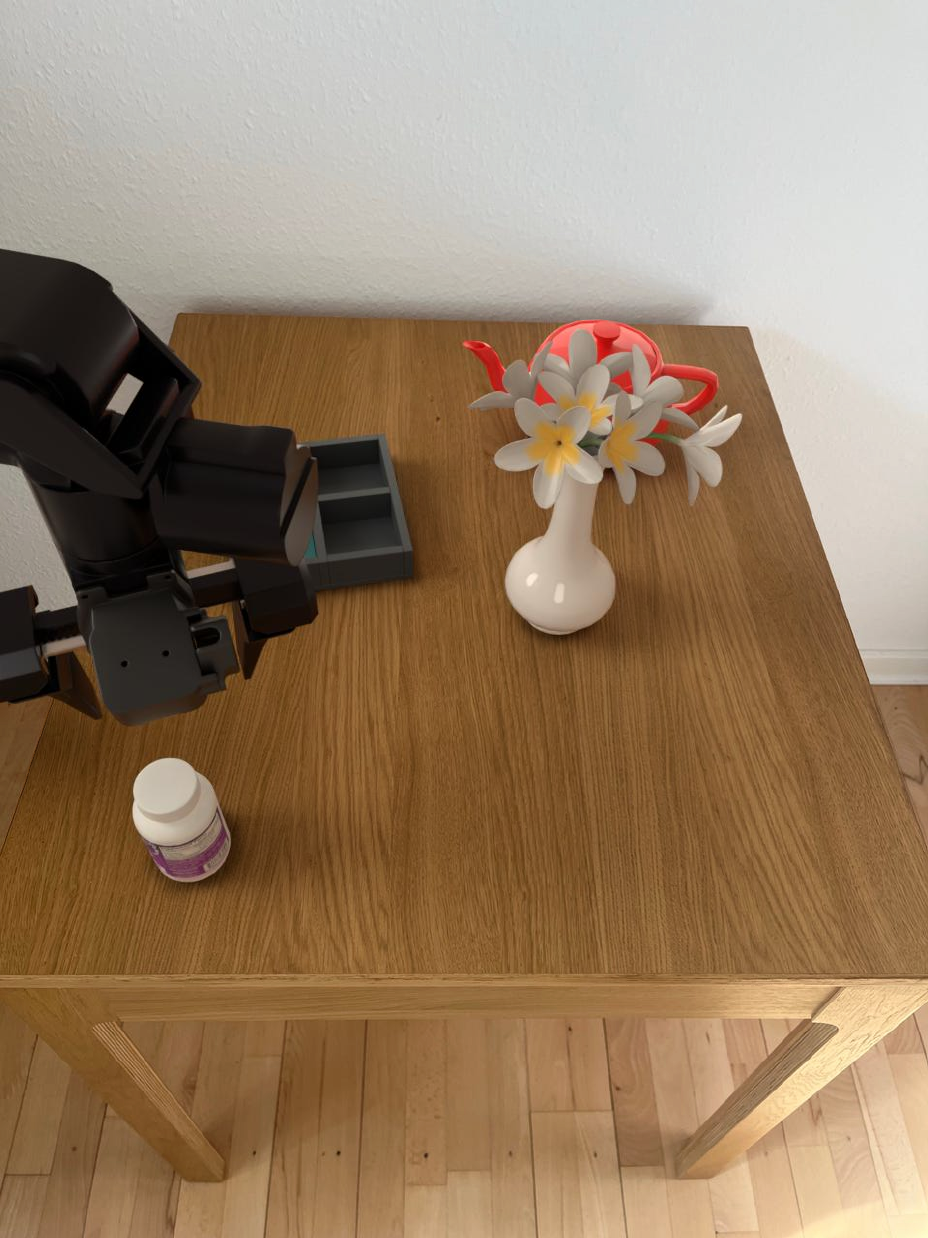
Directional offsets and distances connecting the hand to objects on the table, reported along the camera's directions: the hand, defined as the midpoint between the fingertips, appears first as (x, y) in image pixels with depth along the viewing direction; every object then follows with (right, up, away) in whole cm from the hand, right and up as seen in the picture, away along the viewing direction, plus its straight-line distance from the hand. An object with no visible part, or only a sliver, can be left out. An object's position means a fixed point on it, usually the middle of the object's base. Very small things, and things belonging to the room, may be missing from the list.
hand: (173, 693), depth 59 cm
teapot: (+30, +24, +37) cm, 54 cm away
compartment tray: (+5, +13, +27) cm, 31 cm away
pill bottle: (-1, -12, +8) cm, 14 cm away
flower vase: (+27, +6, +23) cm, 36 cm away
